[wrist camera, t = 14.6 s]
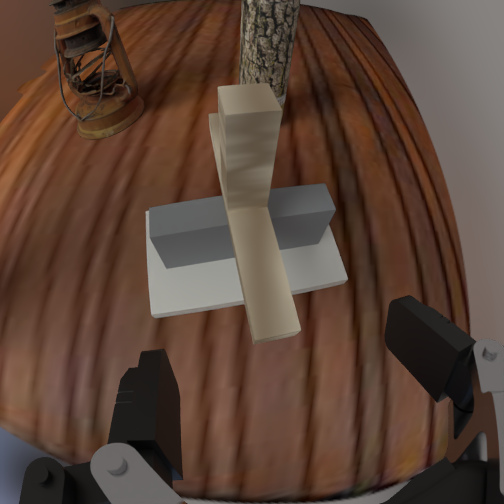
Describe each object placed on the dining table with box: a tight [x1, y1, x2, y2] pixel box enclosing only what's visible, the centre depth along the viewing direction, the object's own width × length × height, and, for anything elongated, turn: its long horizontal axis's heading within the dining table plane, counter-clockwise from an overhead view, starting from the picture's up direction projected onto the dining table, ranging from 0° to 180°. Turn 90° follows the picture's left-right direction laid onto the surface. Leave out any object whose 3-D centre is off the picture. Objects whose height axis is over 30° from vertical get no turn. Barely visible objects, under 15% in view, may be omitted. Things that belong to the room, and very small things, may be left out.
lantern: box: [49, 0, 145, 140], centre depth 28 cm, size 17×13×30 cm
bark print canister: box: [239, 0, 300, 120], centre depth 30 cm, size 7×7×25 cm
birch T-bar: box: [209, 83, 301, 345], centre depth 19 cm, size 3×22×11 cm, turn 12°
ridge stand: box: [146, 183, 348, 318], centre depth 28 cm, size 20×12×8 cm, turn 102°
